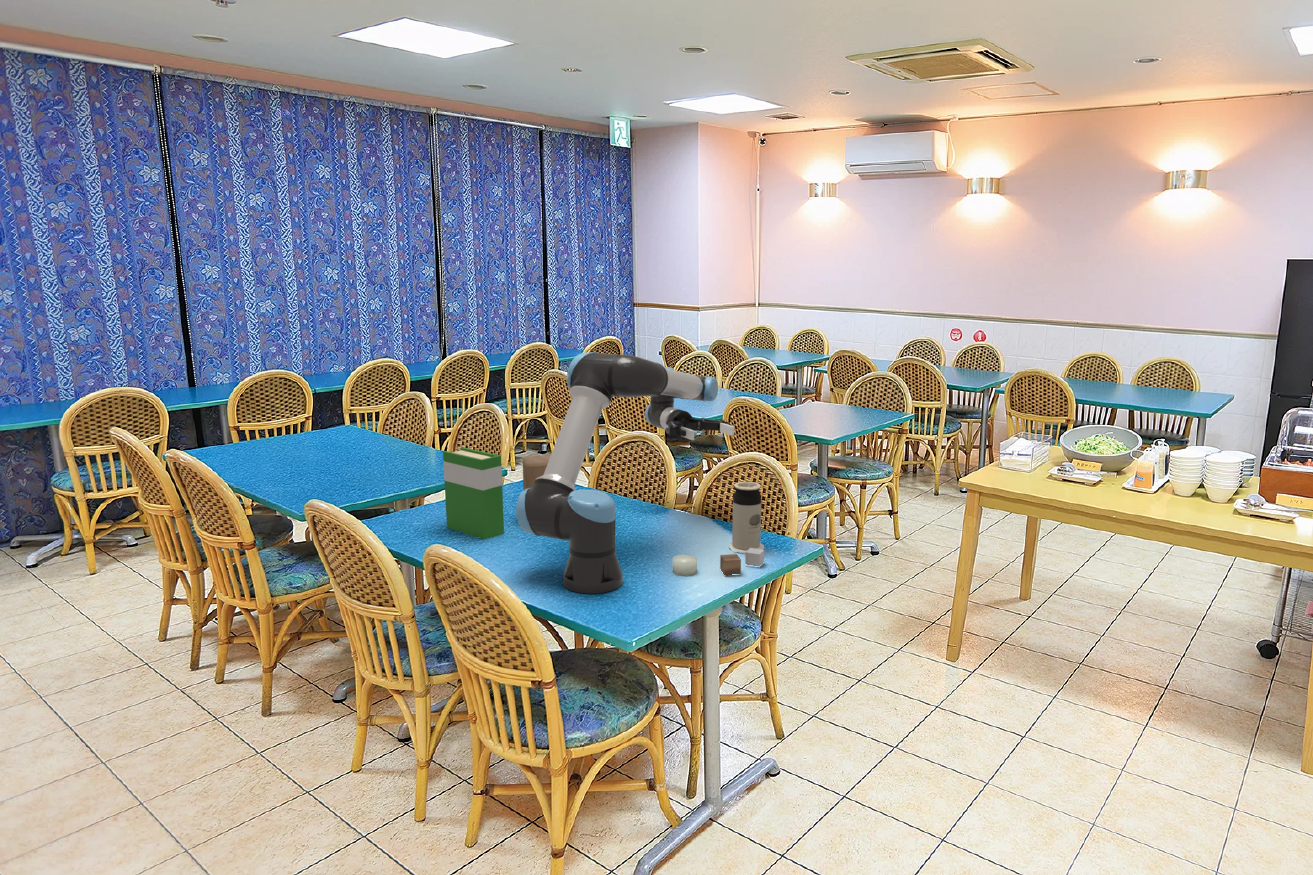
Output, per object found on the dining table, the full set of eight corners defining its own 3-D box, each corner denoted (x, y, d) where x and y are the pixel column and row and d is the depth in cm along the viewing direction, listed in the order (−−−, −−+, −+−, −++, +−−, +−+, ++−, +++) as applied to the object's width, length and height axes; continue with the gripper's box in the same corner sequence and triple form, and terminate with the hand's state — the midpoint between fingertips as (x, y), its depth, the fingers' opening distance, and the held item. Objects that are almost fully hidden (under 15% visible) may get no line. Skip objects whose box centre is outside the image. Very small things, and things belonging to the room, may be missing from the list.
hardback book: (446, 527, 263) (442, 451, 258) (466, 522, 269) (462, 447, 264) (484, 539, 253) (481, 460, 248) (504, 533, 258) (501, 455, 253)
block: (527, 526, 265) (526, 463, 260) (524, 517, 274) (522, 456, 270) (560, 524, 267) (558, 461, 263) (555, 514, 277) (553, 454, 272)
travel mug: (727, 543, 248) (728, 482, 244) (752, 539, 251) (753, 480, 247) (739, 552, 241) (740, 490, 237) (765, 548, 243) (766, 487, 240)
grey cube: (759, 568, 230) (759, 554, 229) (745, 566, 232) (745, 552, 231) (763, 563, 234) (764, 549, 233) (749, 561, 235) (750, 547, 235)
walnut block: (740, 575, 225) (741, 559, 224) (724, 576, 225) (724, 560, 224) (736, 569, 230) (736, 553, 229) (720, 570, 229) (720, 554, 228)
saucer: (763, 554, 240) (763, 552, 240) (727, 552, 242) (727, 550, 242) (764, 543, 250) (764, 541, 250) (730, 541, 251) (730, 539, 251)
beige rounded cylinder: (695, 576, 224) (695, 563, 224) (670, 575, 225) (670, 562, 225) (698, 568, 231) (698, 555, 230) (674, 566, 232) (674, 554, 231)
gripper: (710, 429, 274) (748, 441, 256) (641, 436, 262) (675, 450, 244) (711, 406, 272) (749, 417, 254) (641, 412, 261) (676, 424, 242)
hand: (713, 433), depth 249 cm, fingers open, 13 cm apart
